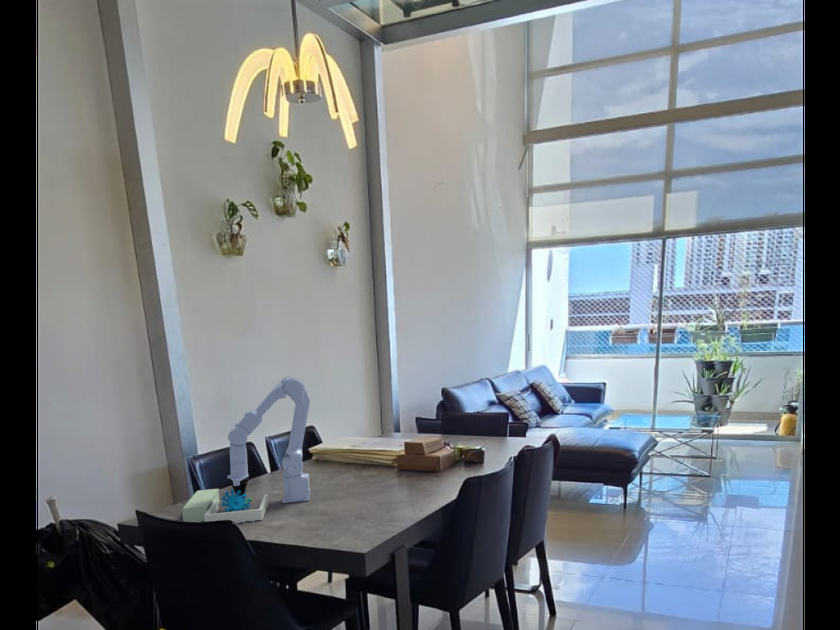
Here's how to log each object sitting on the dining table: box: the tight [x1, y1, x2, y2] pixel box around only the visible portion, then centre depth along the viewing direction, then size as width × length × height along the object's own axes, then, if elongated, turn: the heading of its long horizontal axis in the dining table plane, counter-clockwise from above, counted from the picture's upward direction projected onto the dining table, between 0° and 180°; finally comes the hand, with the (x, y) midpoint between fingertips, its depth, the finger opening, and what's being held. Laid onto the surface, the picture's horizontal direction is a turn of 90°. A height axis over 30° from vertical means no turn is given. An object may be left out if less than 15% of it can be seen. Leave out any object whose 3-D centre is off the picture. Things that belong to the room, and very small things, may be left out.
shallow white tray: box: [204, 494, 269, 524], centre depth 200 cm, size 18×18×4 cm
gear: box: [220, 489, 253, 512], centre depth 202 cm, size 11×6×10 cm
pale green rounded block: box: [182, 488, 220, 522], centre depth 205 cm, size 8×22×5 cm, turn 9°
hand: (240, 501), depth 207 cm, fingers closed
